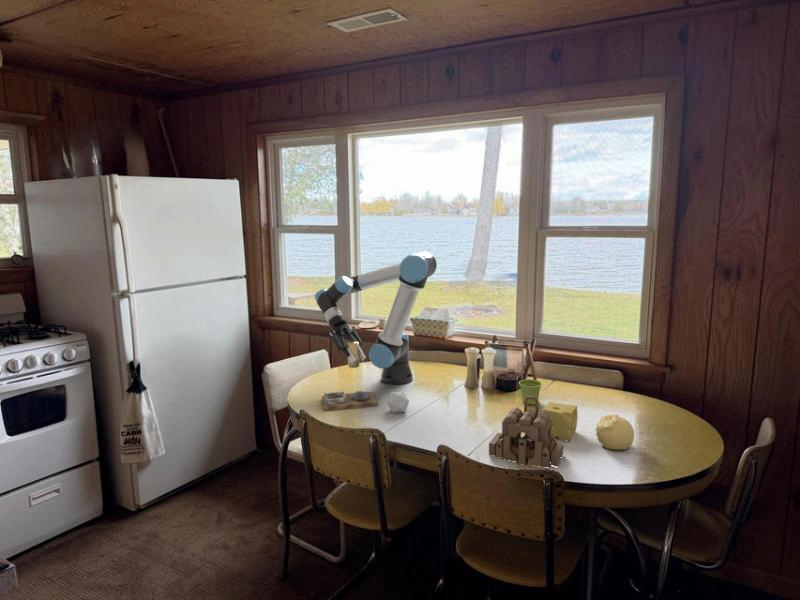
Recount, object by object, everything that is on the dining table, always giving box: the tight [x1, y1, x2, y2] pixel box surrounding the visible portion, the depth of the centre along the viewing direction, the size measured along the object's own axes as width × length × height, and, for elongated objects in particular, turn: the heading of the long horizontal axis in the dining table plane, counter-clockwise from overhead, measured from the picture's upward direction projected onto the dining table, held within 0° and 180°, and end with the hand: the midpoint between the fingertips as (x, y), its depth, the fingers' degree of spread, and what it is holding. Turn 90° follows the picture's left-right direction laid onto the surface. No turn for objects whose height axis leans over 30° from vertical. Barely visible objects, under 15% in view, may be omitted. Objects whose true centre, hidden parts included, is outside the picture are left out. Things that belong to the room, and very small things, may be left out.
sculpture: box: [595, 413, 635, 451], centre depth 180 cm, size 12×12×11 cm
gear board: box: [321, 390, 379, 412], centre depth 226 cm, size 22×14×4 cm, turn 102°
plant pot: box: [518, 379, 543, 406], centre depth 222 cm, size 9×9×9 cm
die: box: [386, 391, 410, 414], centre depth 215 cm, size 8×9×10 cm
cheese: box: [541, 401, 579, 442], centre depth 191 cm, size 10×11×10 cm
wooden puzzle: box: [488, 396, 564, 468], centre depth 174 cm, size 22×15×19 cm, turn 63°
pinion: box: [346, 340, 361, 369], centre depth 237 cm, size 5×5×11 cm
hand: (358, 360), depth 235 cm, fingers closed on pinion, 5 cm apart
